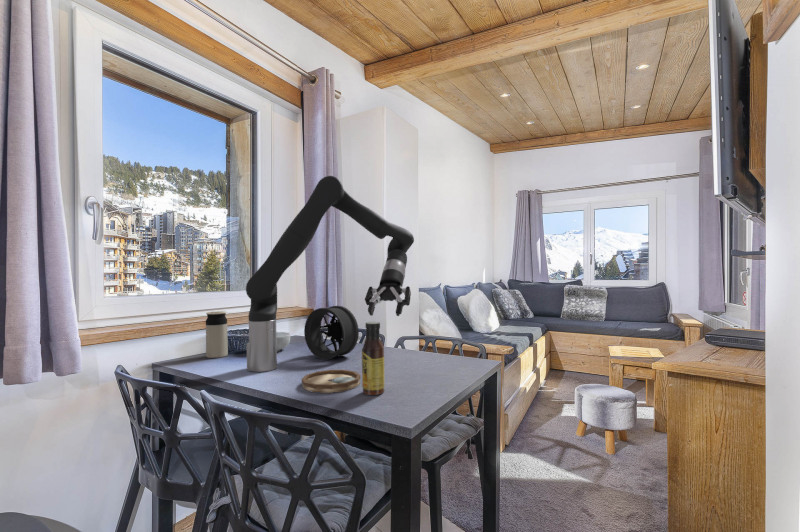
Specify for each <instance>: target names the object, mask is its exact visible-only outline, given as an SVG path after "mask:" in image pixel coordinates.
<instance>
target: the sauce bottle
mask: <svg viewBox="0 0 800 532" xmlns="http://www.w3.org/2000/svg"><path fill="white" fill-rule="evenodd" d="M380 322H381V321H375V320H373V321H367V322H365V332H366V333H365V340H364V344H363V345H362V350H361V374H362V375H361V378H362V380H361V381H362V385H361V386H362V392H363V394H365V395H367V396H378V395H382V394H383V393H384V392H385V384H386V383H385V351H384V350H385V346H384V343H383V341H382V340H381V338H380V336H381V335H380V329H381V323H380Z"/></svg>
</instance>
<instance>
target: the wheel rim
mask: <svg viewBox="0 0 800 532" xmlns="http://www.w3.org/2000/svg"><path fill="white" fill-rule="evenodd" d="M330 314H331V315H330ZM326 316H328V317H330V318H331V319H330V321H329V323H328V321H327V318H326ZM323 320H324V323H325V324H324V325H322V321H323ZM303 328H304V331H303V334H304V340H305V344H306V346H307V347H308V349H309V351H310V352H311V354H312V355H313V356H315V357H316V358H318V359H319V360H323V359H324V361H325V360H331V359H333V358H334V359H335V357H341V356H346V355H347V354H349V353H351V352H352V351H353V350H354V349H355V348H356V345H357V343H358V342H359V341H358V340H359V334H360V331H359V325H358V321H357V319H356V316H354V314H353V313H352V312H351V311H350V310H349V309H348V308H346V307H345V306H341V305H332V306H329V307H328V308H325V307H320V308H316V309H314V310H313V311H312V312H310V314H309V315H308V316H307V318H306V320H305V323H304V327H303ZM322 328H323V329H326V328H327V331H325V330H322ZM322 334H324V335H326V336H325V338H324V340H323V337H322ZM328 338H330V339H329V340H330V341H331V343H329V344H327V345H326V343H327V339H328ZM337 344H338V345H337ZM332 345H333V349H334V350H332V349H330V348H329V346H332ZM337 355H339V356H337Z"/></svg>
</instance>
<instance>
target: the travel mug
mask: <svg viewBox="0 0 800 532" xmlns="http://www.w3.org/2000/svg"><path fill="white" fill-rule="evenodd" d="M226 313H227V311H223V310H217V311H208V312H206V313H205V314H206V317H207V318H206V319H205V353H206V355H205V356H206V358H208V359H219V358H224V357H226V356H228V354H229V353H228V351H229V350H228V347H229V346H228V345H229V344H228V343H229V342H228V319H227V317H226Z"/></svg>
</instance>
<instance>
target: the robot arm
mask: <svg viewBox="0 0 800 532" xmlns="http://www.w3.org/2000/svg"><path fill="white" fill-rule="evenodd" d="M314 187H315V188H314V189H313V191H312V193H311V194H310V196H309V198H308V200H307V202H306V203H305V205H304V206H303V207H302V208H301V210H299V212H298V213H297V214H296V216H295V217H294V219H293V220H292V221H291V222H290V224H289V225H288V226H287V227H286V229H285V230H284V232H283V233H282V234H281V236H280V237H279V239H278V241H277V242H276V244H275V245H274V247H273V249H272V250H271V251H270V253H269V255H268V257H267V258H266V260H265V261H264V262H263V263H262V264H261V266H260V267H258V269H257V271H255V273H254V274H253V275H252V276H251V277H250V278H249V280H247V283H246V286H245V292H246V295H247V297H248V298H249V299H250V308H249V312H248V342H247V343H246V371H247V372H248V371H250V372H253V373H254V372H255V373H256V372H257V373H259V372H261V373H262V372H268V371H269V372H270V371H273V370H275V369H277V368H278V359H277V358H278V351H277V340H276V332H277V311H278V285H277V284H278V282H279V281H280V279H281V277H282V275H284V273H286V271H287V269H288V268H289V267H291V265H292V264H293V263H294V262H295V261H297V259H298V258H299V257H300V256H301V255H302V254H303V252H304V251H305V250H306V248H308V246H309V245H310V243H311V242H312V240H313V238H314V237H315V234H316V232H317V230H318V228H319V226H320V223H321V221H322V219H323V217H324V216H325V214H326V213H327V212H328V210H329V209H330V208H331V207H333V208H334V209H337V210H339V211H341V212H342V213H344V214H346V215H347V216H348V217H350V218H351V219H353V220H354V221H355V222H356V223H357V224H359V225H360V226H362V227H363V228H364V230H365V229H366V231H368V232H369V233H371V235H373V236H375V238H377V239H379V240H383V239H385V237H391V240H390V241H389V243H388V246H387V257H386V260H385V265H384V267H383V270H382V272H381V277H380V281H379V285H378V287H377V288H373V286H369V287H368V289H367V292H366V294H365V298H364V302H365V304H366V306H367V307H368V308H367V312H368V314H369V316H371V317H372V316H374V312H375V308H376V306H377V305H379V304H380V303H382V302H393V301H395V302H396V309H395V315H396V317H400V315H402V312H403V308H404V306H410V304H411V295H412V292H411V288H410V286H409V285H408V286H406V287H404V288H403V285H404V280H405V278H406V266H407V263H408V256H407V252H408V251H409V249H410V248H411V246H412V245H413V244H414V242H415V237H414V235H413V233H412V232H411V231H410V230H408V229H407V228H405V227H403V226H399V225H397V224H395V223H393V222H390V221H388V220H387V219H385V217H383V216H382V215H380V214H379V213H377V212H375V211H374V210H373V209H371V208H369V207H367V206H366V205H364V204H362V203H360V202H359V201H357V200H356V199H355V198H354V197H352V196H351V195H350V194H349V193H348V192H347V191H346V190H345V189H344V187H343V184H342V182H341V181H340V179H339V178H338V177H336V176H333V175H327V176H324V177H322V178H321V179H319V181H318V183H317V184H316V185H315V186H314ZM402 294H404V299H402V298H401V295H402Z"/></svg>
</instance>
